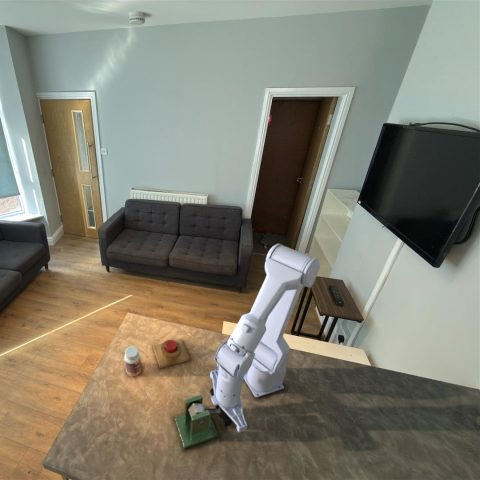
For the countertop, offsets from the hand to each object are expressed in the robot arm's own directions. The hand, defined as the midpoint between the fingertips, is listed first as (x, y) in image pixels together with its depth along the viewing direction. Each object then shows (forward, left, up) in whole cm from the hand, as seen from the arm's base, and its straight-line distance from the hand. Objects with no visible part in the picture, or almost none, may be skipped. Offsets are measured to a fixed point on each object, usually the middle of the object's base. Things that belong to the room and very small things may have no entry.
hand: (223, 417), depth 68 cm
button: (+7, -23, +2) cm, 24 cm away
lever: (+5, 0, +3) cm, 6 cm away
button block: (+7, -23, -1) cm, 24 cm away
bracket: (+8, 0, -1) cm, 8 cm away
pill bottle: (+20, -21, -1) cm, 29 cm away
